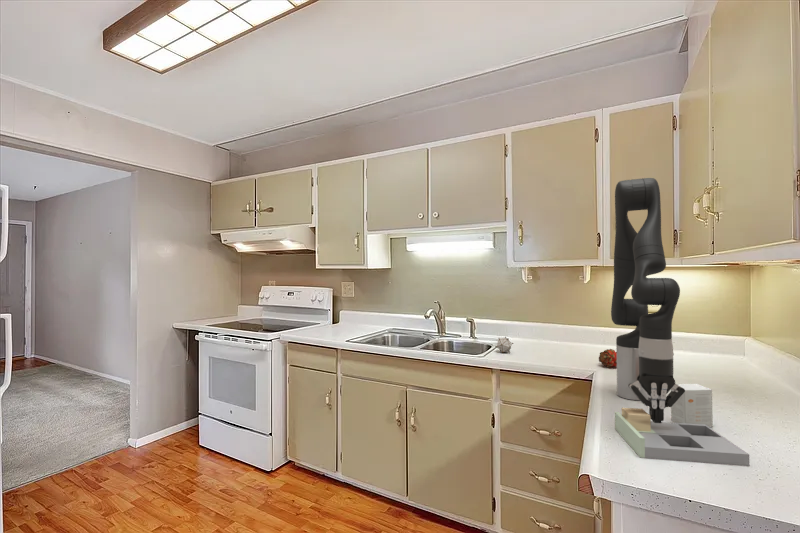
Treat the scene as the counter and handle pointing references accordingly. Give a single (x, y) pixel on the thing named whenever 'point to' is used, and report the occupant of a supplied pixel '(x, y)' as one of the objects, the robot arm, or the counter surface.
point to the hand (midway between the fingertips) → (656, 421)
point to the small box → (693, 406)
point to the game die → (504, 345)
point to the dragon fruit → (608, 358)
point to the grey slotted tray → (681, 443)
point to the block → (637, 418)
